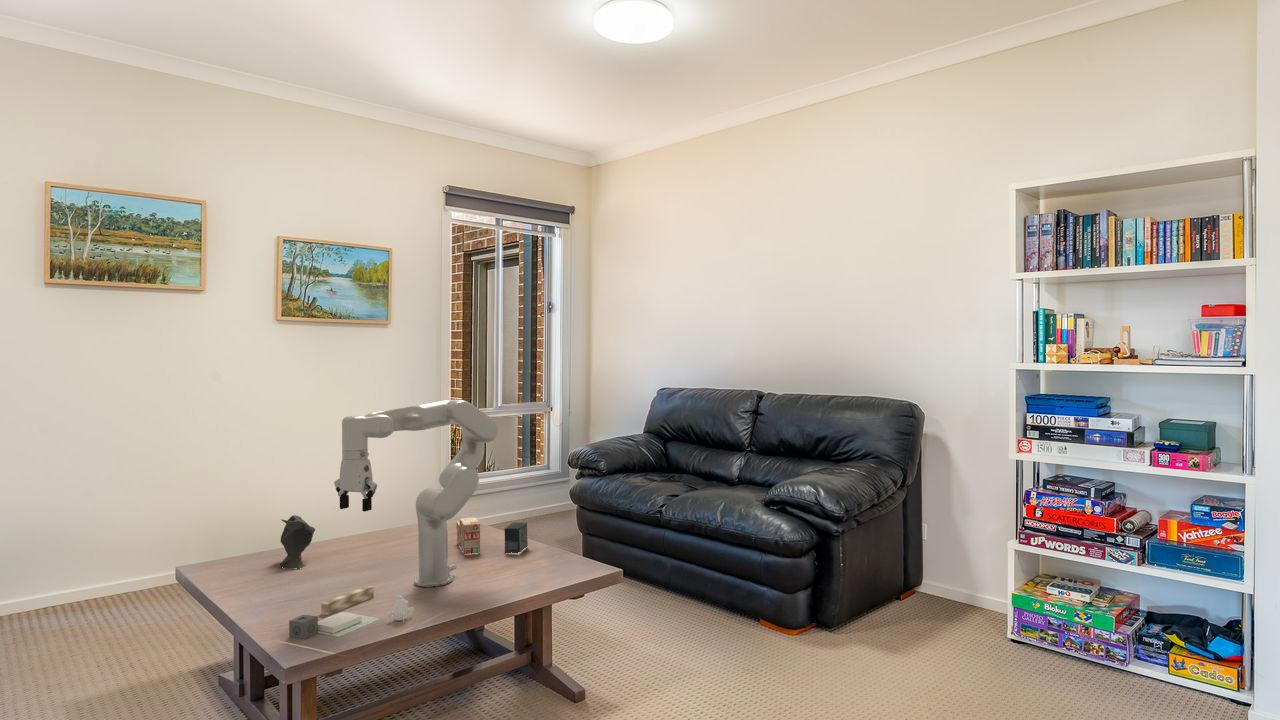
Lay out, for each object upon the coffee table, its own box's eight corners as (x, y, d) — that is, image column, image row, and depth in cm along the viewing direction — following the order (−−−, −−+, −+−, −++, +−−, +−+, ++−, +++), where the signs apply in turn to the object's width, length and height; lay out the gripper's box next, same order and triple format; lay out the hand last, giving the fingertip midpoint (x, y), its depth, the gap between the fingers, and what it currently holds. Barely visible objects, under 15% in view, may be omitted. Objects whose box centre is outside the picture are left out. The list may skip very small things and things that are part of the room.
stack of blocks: (456, 543, 298) (456, 513, 298) (472, 542, 300) (471, 512, 300) (464, 556, 278) (463, 524, 278) (480, 554, 280) (480, 522, 280)
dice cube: (303, 632, 200) (303, 614, 200) (317, 634, 199) (317, 616, 199) (289, 639, 196) (289, 620, 196) (304, 641, 194) (304, 622, 194)
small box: (512, 548, 290) (512, 521, 290) (528, 548, 289) (527, 522, 289) (503, 555, 279) (503, 527, 279) (520, 555, 278) (519, 528, 278)
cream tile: (341, 612, 210) (312, 623, 201) (361, 615, 207) (333, 627, 198) (341, 617, 210) (312, 629, 201) (361, 621, 207) (333, 633, 198)
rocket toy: (413, 618, 211) (413, 591, 211) (404, 625, 205) (404, 597, 205) (396, 617, 211) (396, 590, 211) (386, 624, 206) (386, 596, 206)
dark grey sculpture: (326, 558, 277) (325, 511, 277) (300, 569, 262) (300, 519, 262) (292, 556, 280) (292, 510, 280) (265, 567, 265) (264, 518, 265)
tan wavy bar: (368, 598, 230) (368, 585, 230) (373, 599, 229) (373, 586, 229) (321, 616, 214) (321, 602, 214) (327, 617, 213) (327, 604, 213)
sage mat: (344, 613, 215) (344, 612, 215) (380, 620, 209) (380, 618, 209) (302, 630, 201) (302, 629, 201) (338, 638, 195) (338, 636, 195)
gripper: (384, 455, 228) (385, 509, 228) (344, 452, 235) (345, 505, 235) (366, 458, 221) (366, 514, 221) (325, 455, 228) (326, 509, 228)
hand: (355, 509), depth 228 cm, fingers open, 9 cm apart
